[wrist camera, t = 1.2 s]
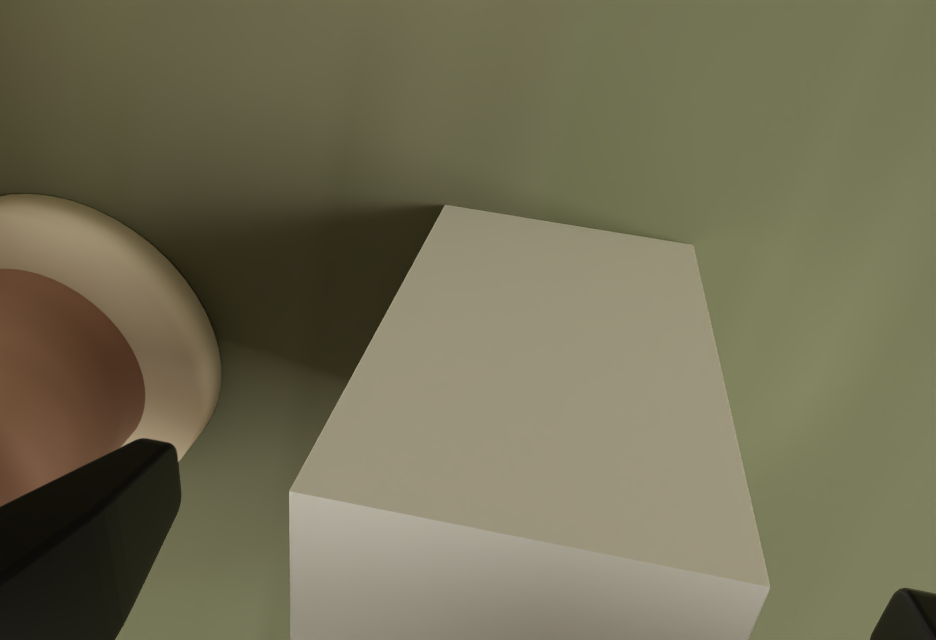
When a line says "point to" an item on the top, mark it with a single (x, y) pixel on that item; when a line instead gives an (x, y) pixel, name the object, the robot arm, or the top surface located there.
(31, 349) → the bobbin
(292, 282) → the top surface
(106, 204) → the top surface
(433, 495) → the block
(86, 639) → the robot arm
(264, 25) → the top surface
